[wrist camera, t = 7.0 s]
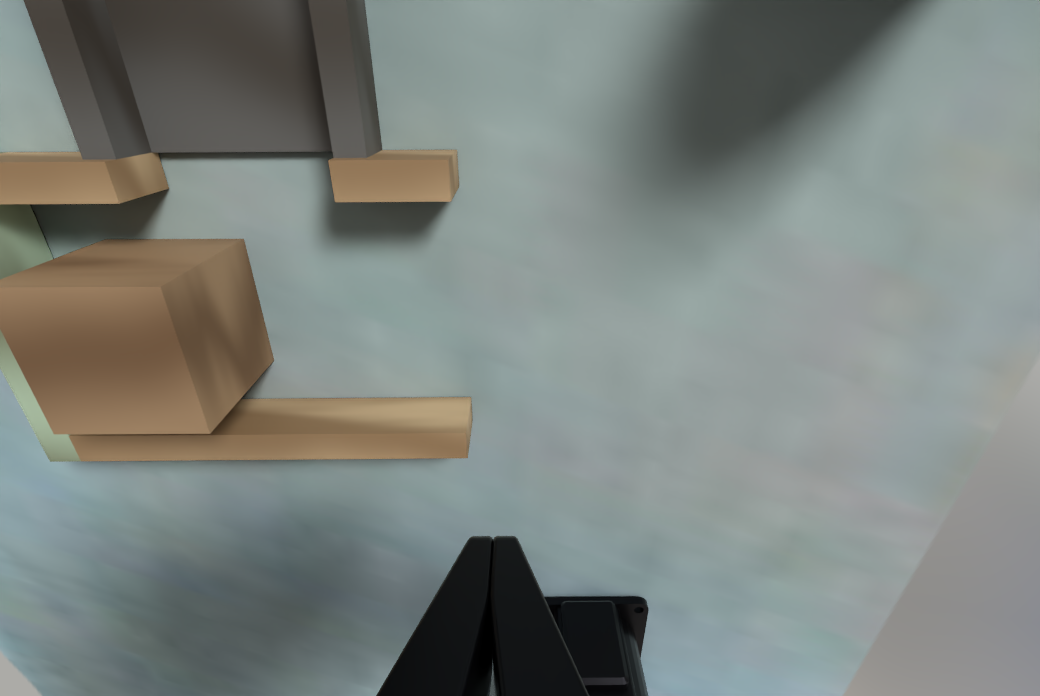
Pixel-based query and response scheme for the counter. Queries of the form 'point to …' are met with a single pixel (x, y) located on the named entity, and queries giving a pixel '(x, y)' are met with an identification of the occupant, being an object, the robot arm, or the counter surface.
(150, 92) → the channel
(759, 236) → the counter surface
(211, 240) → the walnut block
